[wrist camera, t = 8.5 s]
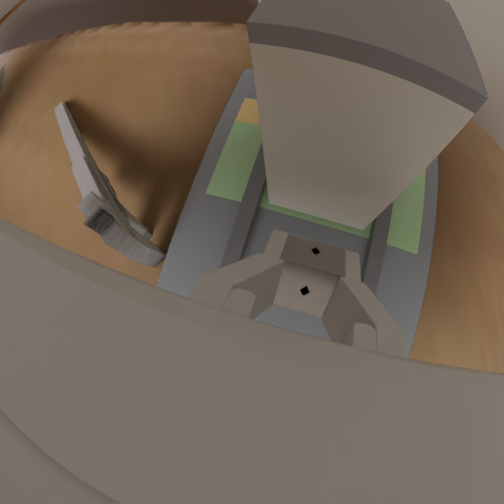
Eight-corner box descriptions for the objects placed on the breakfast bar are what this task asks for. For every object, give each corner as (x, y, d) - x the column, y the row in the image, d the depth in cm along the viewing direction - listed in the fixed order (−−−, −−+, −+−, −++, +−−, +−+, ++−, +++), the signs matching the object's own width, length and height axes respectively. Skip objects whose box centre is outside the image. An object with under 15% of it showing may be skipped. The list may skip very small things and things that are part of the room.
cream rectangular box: (267, 203, 14) (241, 21, 4) (291, 126, 15) (292, -43, 5) (362, 230, 14) (488, 98, 3) (375, 150, 14) (449, 2, 4)
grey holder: (151, 327, 15) (35, 339, 6) (246, 77, 18) (228, -25, 9) (386, 395, 13) (473, 465, 4) (431, 129, 16) (488, 46, 7)
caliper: (171, 257, 16) (115, 230, 10) (158, 269, 16) (97, 249, 10) (66, 104, 20) (31, 68, 14) (58, 111, 20) (23, 77, 14)
